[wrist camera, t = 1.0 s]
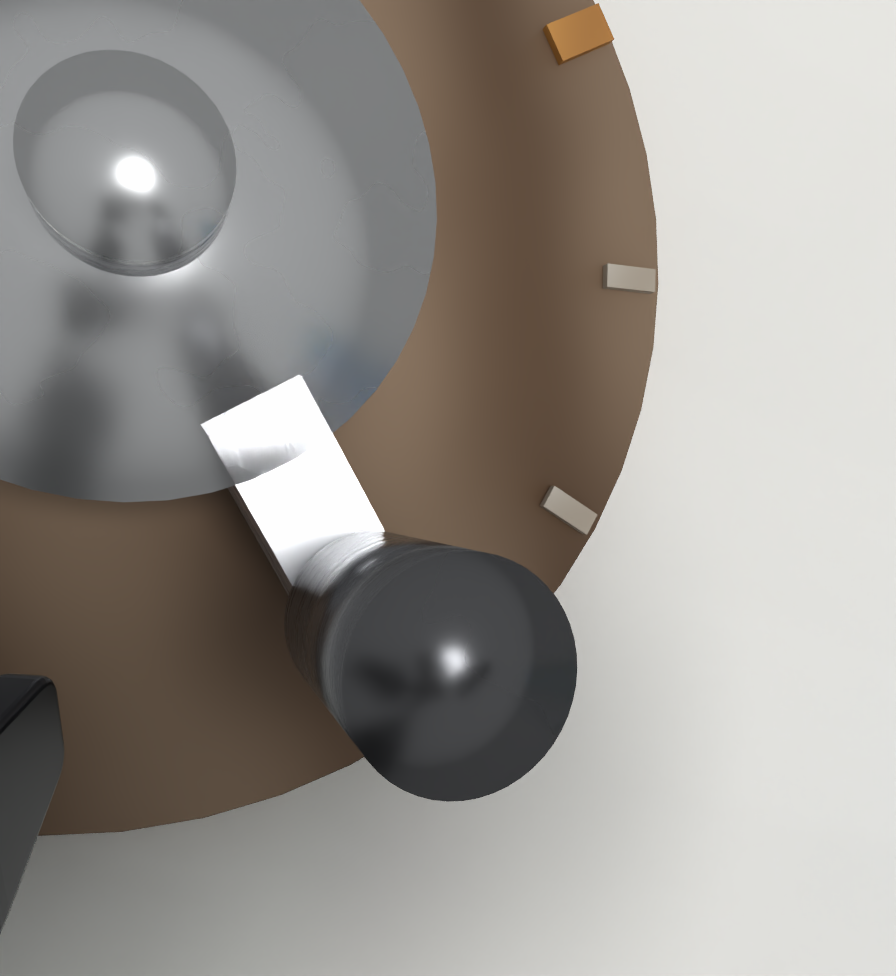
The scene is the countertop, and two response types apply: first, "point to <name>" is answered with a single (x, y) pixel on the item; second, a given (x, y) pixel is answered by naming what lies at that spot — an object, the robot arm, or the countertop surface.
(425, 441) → the dial base plate
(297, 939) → the countertop surface
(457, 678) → the dial
